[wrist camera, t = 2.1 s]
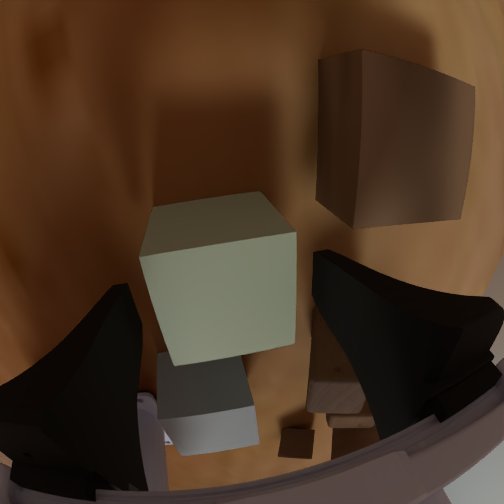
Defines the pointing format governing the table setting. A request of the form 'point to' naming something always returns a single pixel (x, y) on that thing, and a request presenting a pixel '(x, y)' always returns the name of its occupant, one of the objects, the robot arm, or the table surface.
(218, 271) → the sage cube
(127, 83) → the table surface
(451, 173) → the walnut base
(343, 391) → the wooden block set
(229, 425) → the slate cube
